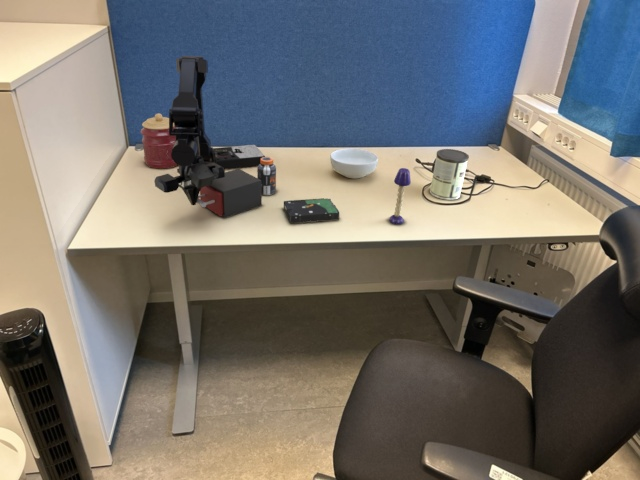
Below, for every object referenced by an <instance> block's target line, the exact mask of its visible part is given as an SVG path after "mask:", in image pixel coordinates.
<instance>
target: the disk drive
mask: <svg viewBox="0 0 640 480" xmlns="http://www.w3.org/2000/svg"><path fill="white" fill-rule="evenodd" d="M283 210H284V212H285V214H286V216H287V219H288V221H289V223H290V224H302V223H303V224H304V223H315V222H327V221H328V222H329V221H337V220H339V219H340V211H339V209H338V208H337V206H336V205H335V204H334V202H333V200H332V199H331V198H310V199H294V200H293V199H291V200H283Z"/></svg>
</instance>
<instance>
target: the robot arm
mask: <svg viewBox="0 0 640 480" xmlns="http://www.w3.org/2000/svg"><path fill="white" fill-rule="evenodd" d="M175 62H176V63H175V64H176V73H179V81H178V82H179V83H178V94H177V95H176V96H175V97H174V98H173V99H172V103H171V108H169V110H168V118H169V136H176V141H175V144H174V146H173V149H172V152H171V157H172V159H173V161H174V162H175V163H176V164H178V165H177V166H178V168H176V173H178V174H179V175H177V176H174V175H171V174H170V173H166V174H161V175H157V176H156V177H154V187H156V188H157V189H159V190H160V191H161V192H162V193H165V194H167V193H169V194H170V193H171V192H175V191H178V189H179V188H180V189H181V190H182V191H183V193H184V195H185V196H186V198H187V200H188V202H189V203H190V205H191V206H196V205H197V203H196V202H197V199H198V196H199V195H200V190H201V188H203V187H205V186H208V185H209V186H210V185H212V183H213V180H214V179H219V178H223V177H225V172H226V169H225V170H224V168H223V167H221V166H219V165H218V164H216V155H215V151H214V149H213V148H214V147H213V146H212V141H211V139H210V138H209V136H208V135H207V133H206V127H205V112H204V99H203V97H204V96H203V86H204V84H205V82H206V79H207V75H208V74H209V61H208V60H207V59H204V56H198V55H197V56H195V55H181V56H180V57H178V58H175ZM173 123H174V126H175V127H178V128H174V129H173ZM210 158H211V159H210Z"/></svg>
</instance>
